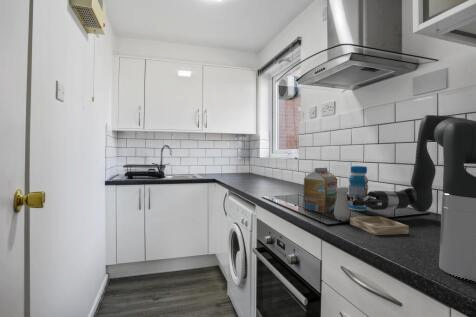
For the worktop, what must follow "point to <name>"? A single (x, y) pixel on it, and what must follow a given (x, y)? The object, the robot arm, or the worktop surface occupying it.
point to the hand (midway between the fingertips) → (346, 200)
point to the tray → (379, 225)
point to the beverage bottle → (358, 185)
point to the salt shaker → (342, 204)
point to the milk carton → (320, 191)
